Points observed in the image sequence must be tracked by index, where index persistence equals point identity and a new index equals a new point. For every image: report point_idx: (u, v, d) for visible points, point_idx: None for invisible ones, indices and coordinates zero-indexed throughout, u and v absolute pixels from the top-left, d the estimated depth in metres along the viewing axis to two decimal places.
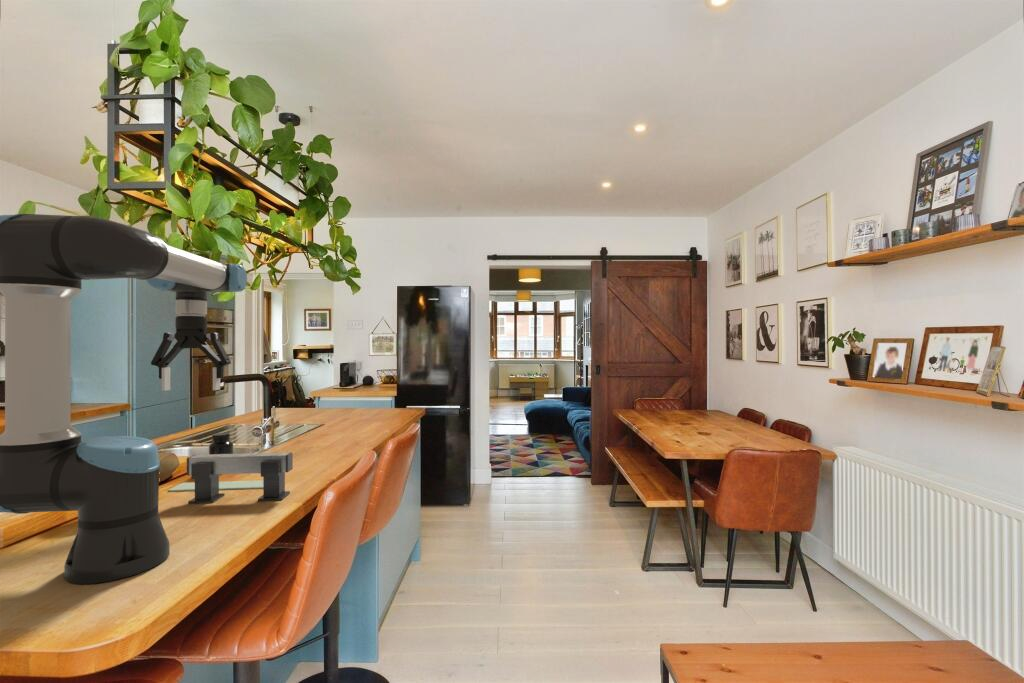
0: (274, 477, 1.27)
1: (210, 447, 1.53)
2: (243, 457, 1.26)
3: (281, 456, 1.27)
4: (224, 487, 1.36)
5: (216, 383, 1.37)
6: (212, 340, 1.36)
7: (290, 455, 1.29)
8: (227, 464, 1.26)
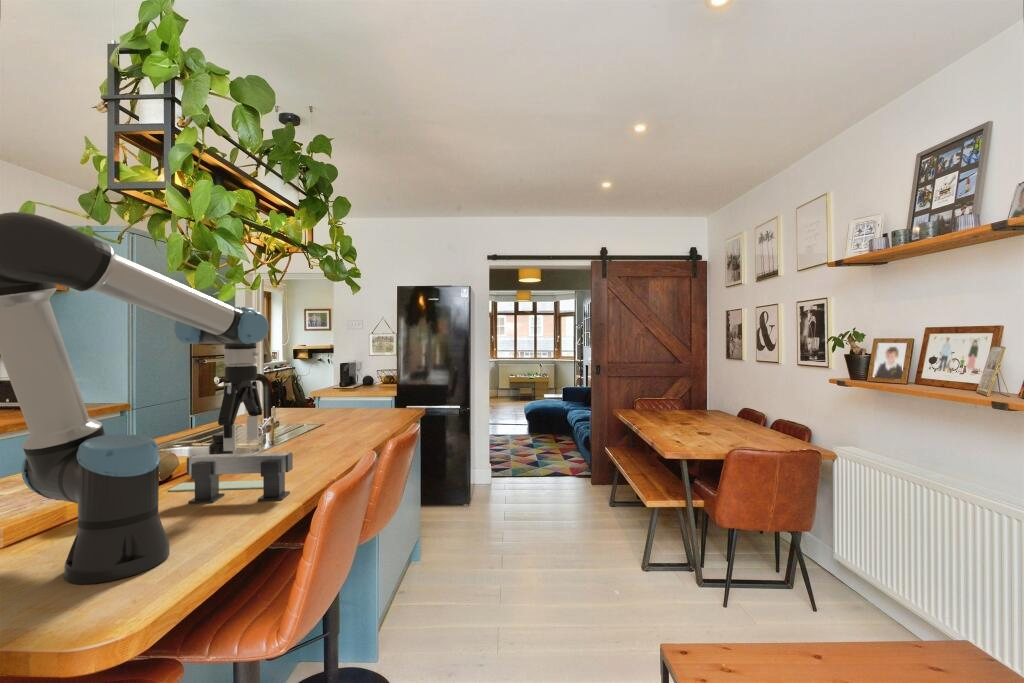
0: (274, 477, 1.27)
1: (210, 447, 1.53)
2: (243, 457, 1.26)
3: (281, 456, 1.27)
4: (224, 487, 1.36)
5: (224, 443, 1.21)
6: None
7: (290, 455, 1.29)
8: (227, 464, 1.26)
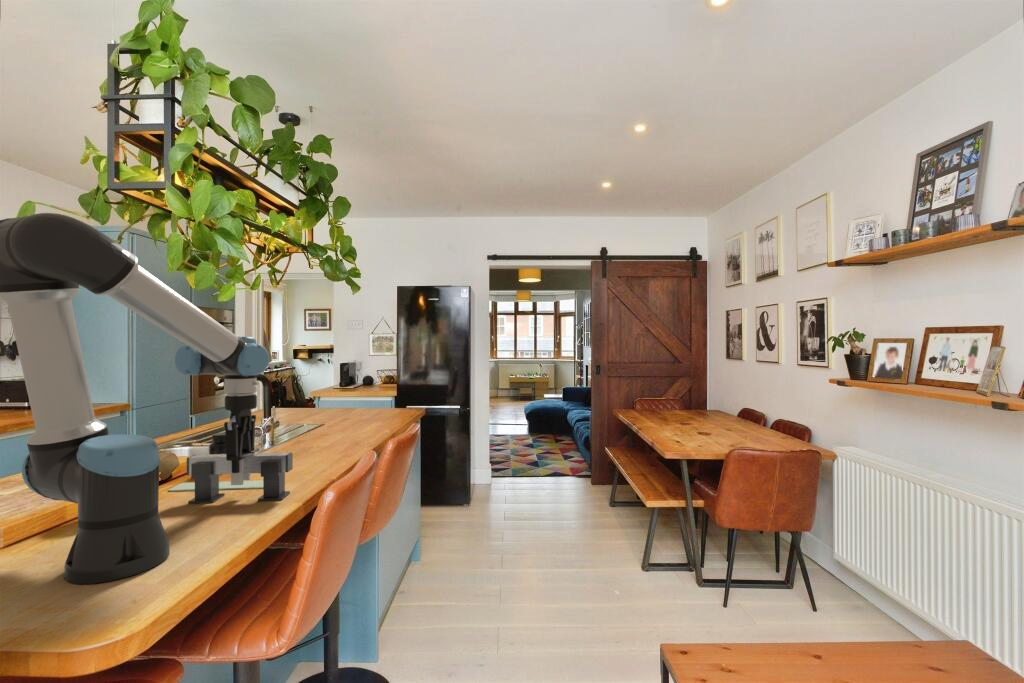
0: (274, 477, 1.27)
1: (210, 447, 1.53)
2: (243, 457, 1.26)
3: (281, 456, 1.27)
4: (224, 487, 1.36)
5: (232, 477, 1.25)
6: None
7: (290, 455, 1.29)
8: (227, 464, 1.26)
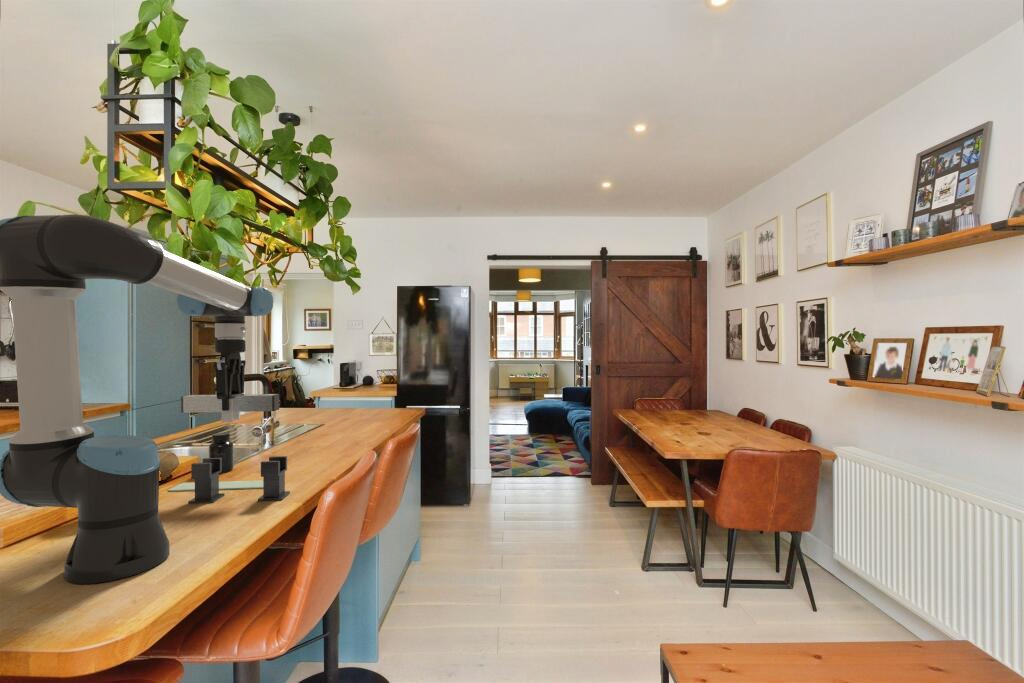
0: (274, 477, 1.27)
1: (210, 447, 1.53)
2: (233, 396, 1.36)
3: (268, 396, 1.36)
4: (224, 487, 1.36)
5: (222, 415, 1.35)
6: None
7: (277, 396, 1.38)
8: (218, 403, 1.35)
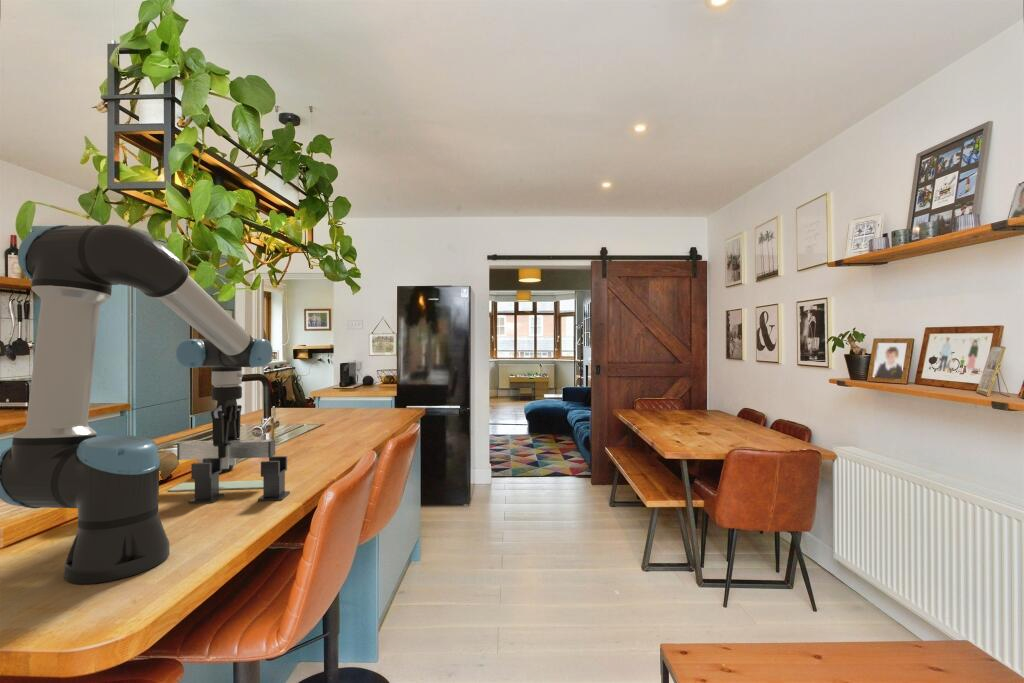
0: (274, 477, 1.27)
1: None
2: (229, 443, 1.37)
3: (264, 442, 1.38)
4: (224, 487, 1.36)
5: None
6: None
7: (273, 442, 1.40)
8: (214, 449, 1.37)
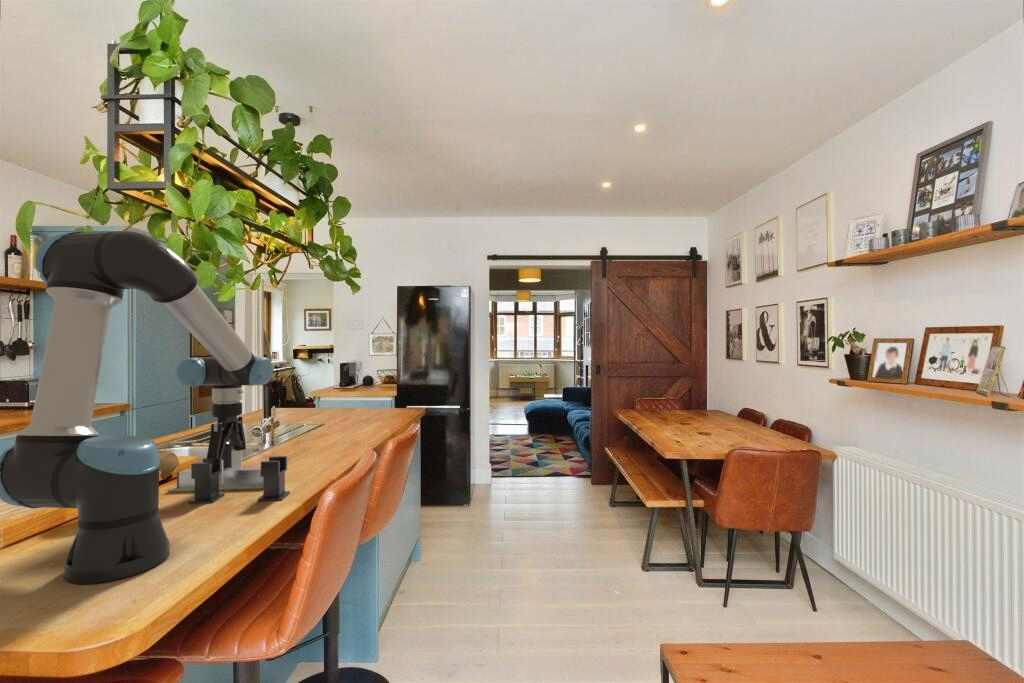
0: (274, 477, 1.27)
1: None
2: (229, 471, 1.37)
3: None
4: (224, 487, 1.36)
5: None
6: None
7: None
8: None
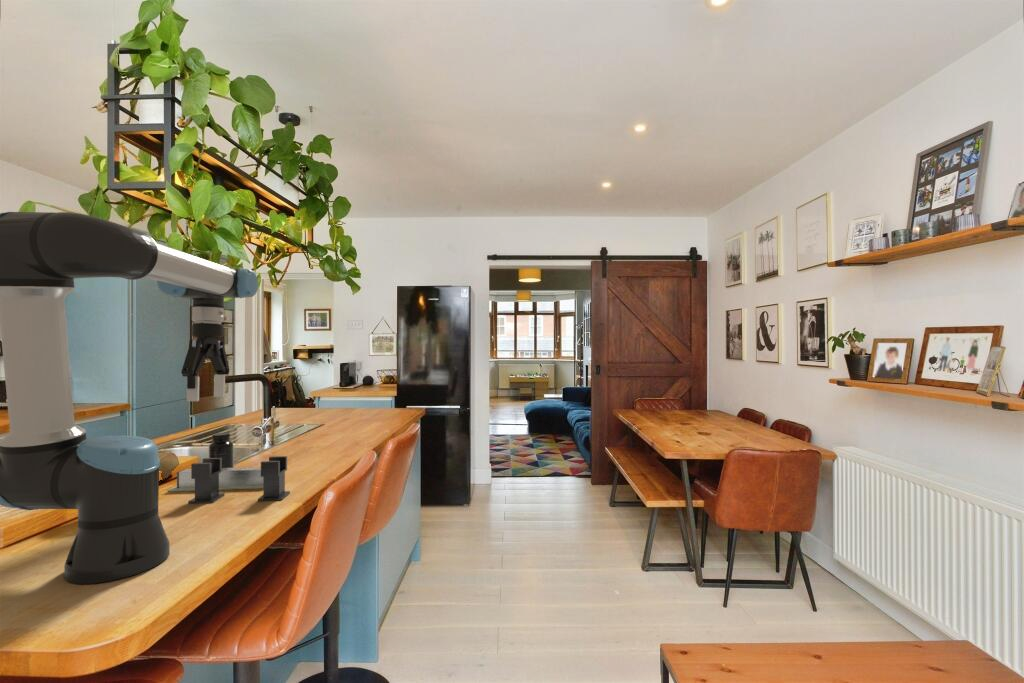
0: (274, 477, 1.27)
1: (210, 447, 1.53)
2: (229, 471, 1.37)
3: None
4: (224, 487, 1.36)
5: (187, 393, 1.27)
6: None
7: None
8: None
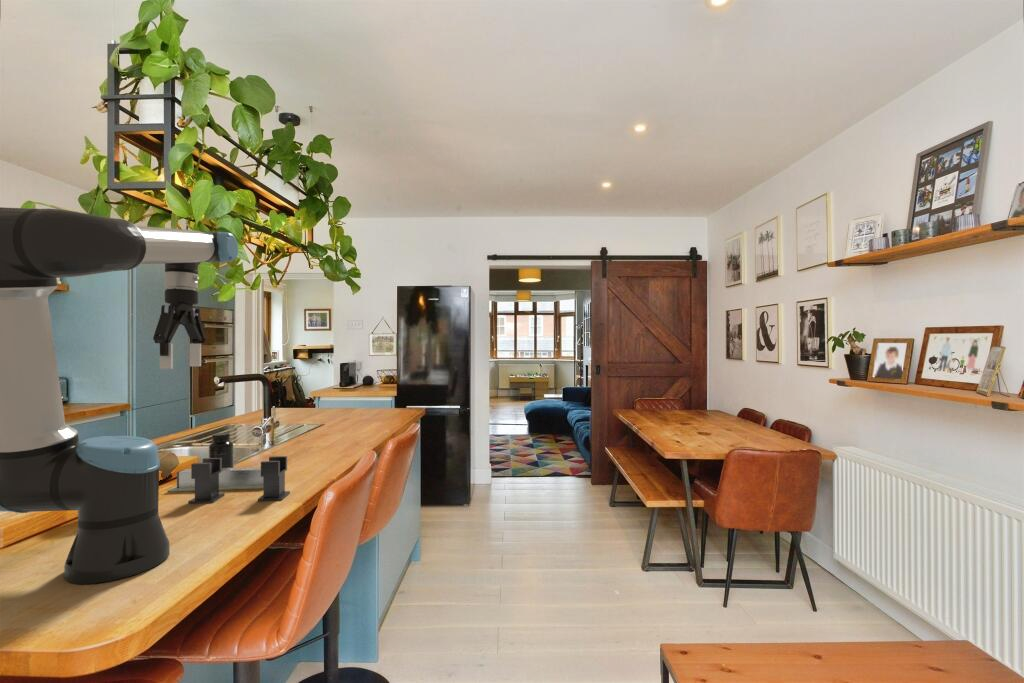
0: (274, 477, 1.27)
1: (210, 447, 1.53)
2: (229, 471, 1.37)
3: None
4: (224, 487, 1.36)
5: (160, 361, 1.23)
6: None
7: None
8: None
